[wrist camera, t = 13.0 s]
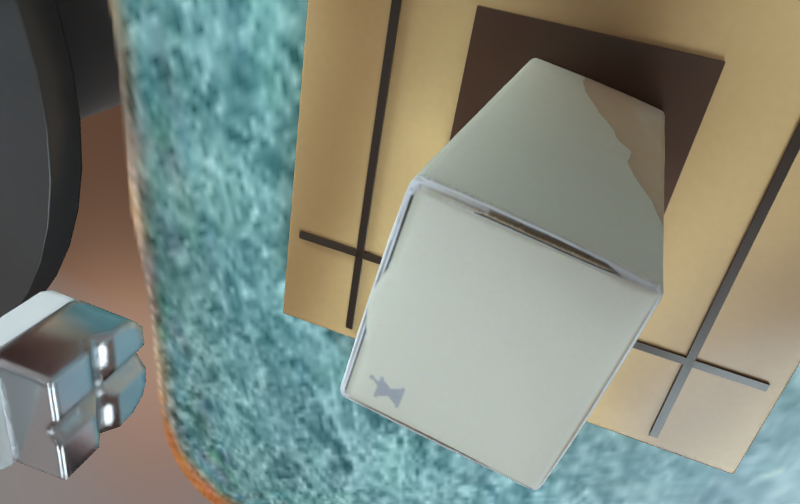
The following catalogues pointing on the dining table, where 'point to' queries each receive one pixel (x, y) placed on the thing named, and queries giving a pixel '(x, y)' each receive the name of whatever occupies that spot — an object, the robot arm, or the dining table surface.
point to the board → (683, 178)
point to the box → (518, 273)
